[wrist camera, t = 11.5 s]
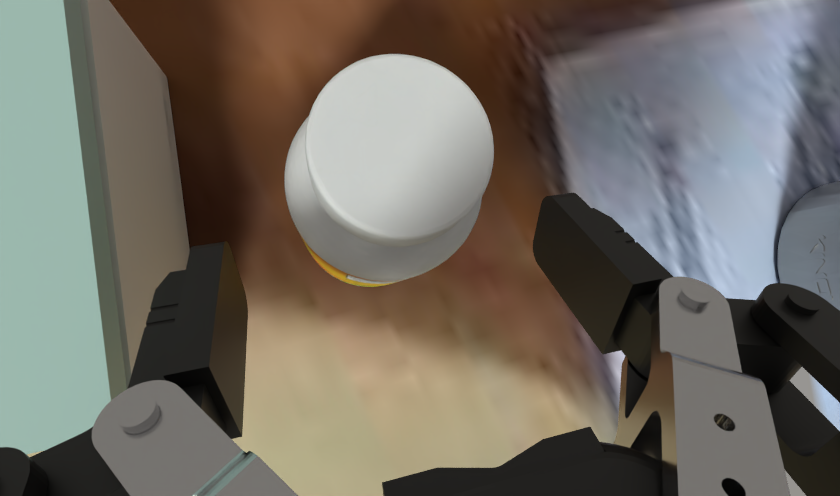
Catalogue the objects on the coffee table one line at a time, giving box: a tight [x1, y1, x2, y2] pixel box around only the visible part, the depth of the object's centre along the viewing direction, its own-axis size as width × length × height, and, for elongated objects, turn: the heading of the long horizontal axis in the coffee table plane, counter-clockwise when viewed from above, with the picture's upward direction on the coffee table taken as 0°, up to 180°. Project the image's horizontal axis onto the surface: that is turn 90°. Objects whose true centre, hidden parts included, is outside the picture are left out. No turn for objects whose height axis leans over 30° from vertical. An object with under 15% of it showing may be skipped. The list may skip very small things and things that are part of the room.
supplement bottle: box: [284, 54, 494, 287], centre depth 14 cm, size 5×5×10 cm
